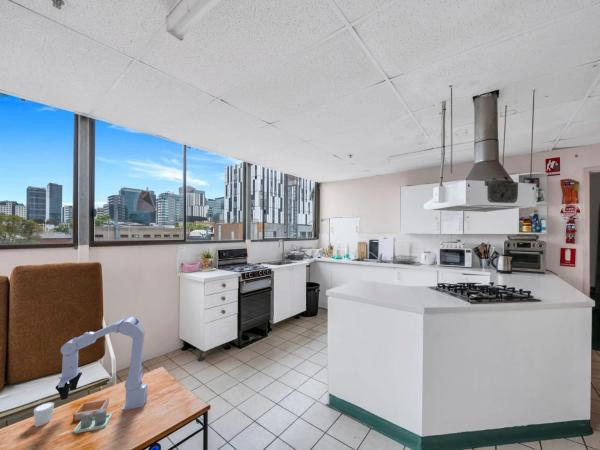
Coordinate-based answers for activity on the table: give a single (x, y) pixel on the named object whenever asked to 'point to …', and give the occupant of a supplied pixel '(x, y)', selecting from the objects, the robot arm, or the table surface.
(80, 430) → the parts tray
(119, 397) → the table surface
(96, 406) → the dish
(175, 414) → the table surface
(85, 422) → the pebble
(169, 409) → the table surface
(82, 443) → the table surface
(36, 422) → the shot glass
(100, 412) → the pebble
